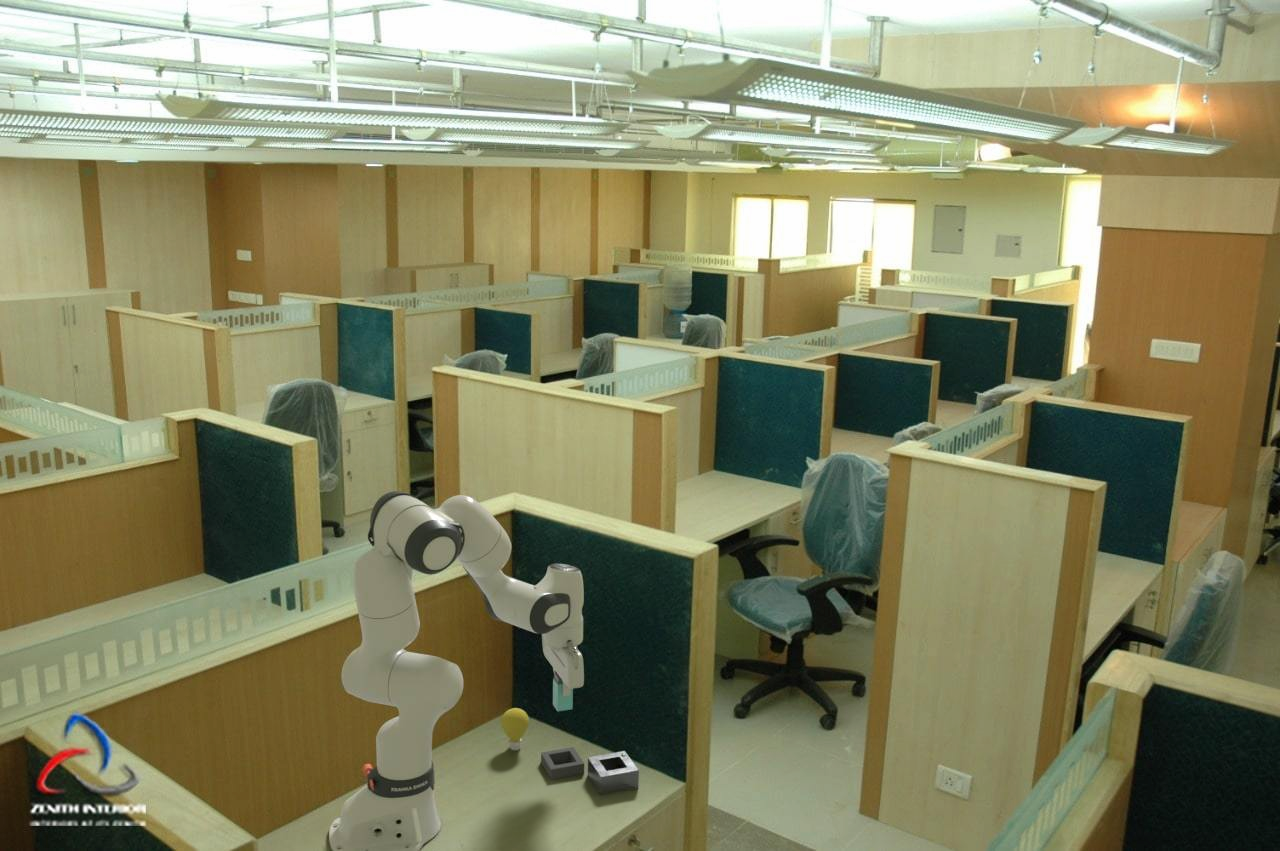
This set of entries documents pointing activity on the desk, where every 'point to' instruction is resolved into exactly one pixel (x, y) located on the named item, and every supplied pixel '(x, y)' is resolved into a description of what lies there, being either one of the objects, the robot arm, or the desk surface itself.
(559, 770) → the frame
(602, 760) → the port
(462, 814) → the desk surface
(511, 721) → the light bulb
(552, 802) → the desk surface
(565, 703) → the plug
